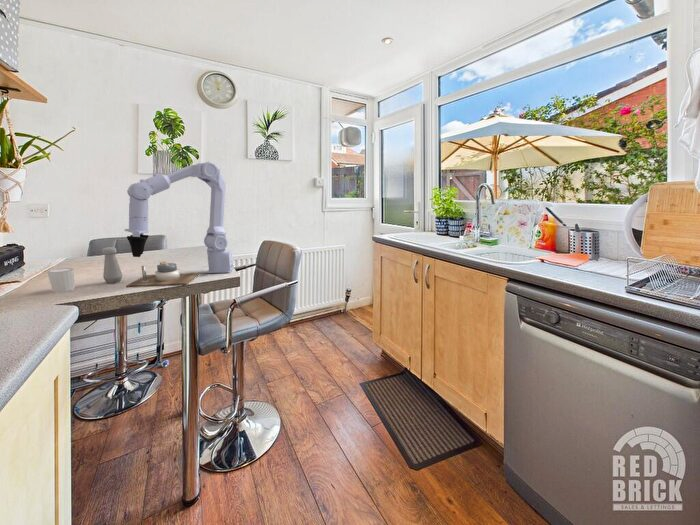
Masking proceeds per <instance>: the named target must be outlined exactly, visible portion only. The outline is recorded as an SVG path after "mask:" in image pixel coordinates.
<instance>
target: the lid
mask: <svg viewBox="0 0 700 525" xmlns="http://www.w3.org/2000/svg"><path fill="white" fill-rule="evenodd" d="M156 269H157V270H156V271H158V272H171V271H175V270H177V269H178V267H177V263H173V262H171V263H170V262H166V261H165V260H164V261H163V260H162V261H159V264H157V265H156Z"/></svg>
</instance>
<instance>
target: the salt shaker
mask: <svg viewBox="0 0 700 525" xmlns="http://www.w3.org/2000/svg"><path fill="white" fill-rule="evenodd" d="M117 251H118V250H117V248H116V247H114V246H109V247H104V248H102V249H101V252H102V255H104V260H103V262H104V263H103V264H104V265H103V275H102V277H103V280H104V281H105V282H106V284H109V283H113V284H117V283H116V282H118V283H121V282H122V278H123V272H122V270H121V267H120V264H119V261H118V259H117V256H116V254H117ZM120 281H121V282H120Z"/></svg>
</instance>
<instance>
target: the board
mask: <svg viewBox="0 0 700 525" xmlns="http://www.w3.org/2000/svg"><path fill="white" fill-rule="evenodd" d="M199 274H200V272H197V273H196V272H194V273H193V272H192V273H191V272H190V273H187V272H186V273H180V278H179V279H177V280H172V281H156V275H155V274H146V276H147V280H150V282H147V283H141V281H142V280H143V276H141V277H139V278H138V279H136V280H134V281H132V282H129V283H128V284H126V285H125V287H126V288H138V287H139V288H140V287H160V286H161V287H163V286H164V287H166V285H170V286H187V285H189V284H190V283H191V282H192V281H194V280H195V279H196V278H197V277H199V276H200V275H201V274H200V275H199ZM198 275H199V276H198ZM195 277H196V278H195ZM194 278H195V279H194ZM189 282H190V283H189Z"/></svg>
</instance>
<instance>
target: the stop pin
mask: <svg viewBox="0 0 700 525" xmlns="http://www.w3.org/2000/svg"><path fill="white" fill-rule="evenodd" d="M146 269H147V268H146V265H141V274H142V277H143V280H142V281H141V283H147V282H150V280H147V276H146V275H147V270H146Z"/></svg>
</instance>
